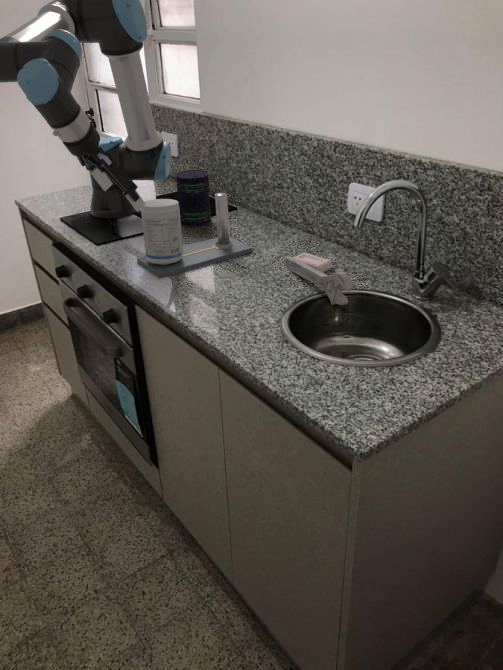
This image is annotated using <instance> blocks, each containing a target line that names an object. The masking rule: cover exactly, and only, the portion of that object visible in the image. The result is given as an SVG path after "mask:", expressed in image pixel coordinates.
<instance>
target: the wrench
mask: <svg viewBox="0 0 503 670" xmlns="http://www.w3.org/2000/svg"><path fill="white" fill-rule="evenodd" d="M294 257H295V256H286V257H285V258H284V260H283V261H284V262H283V263H284V266H285V268H286V269H287V270H288V271H290V272H292V273H294V274H296V275H297V276H300V277H301V278H303V279H305V280H307V281H309V282H311V283H313V284H314V285H317V286H318V287H320V288H322V290H324V292H325V294H326V295H327V297H328V300H329V301H330V304H331V306H334V305H336V304H337V305H338V306H343V305H345V306H346V305H348V303H349V299H348V297H346V296H345V294H344V293H343V290H342V289H344V291H345V292H347V291H351V290H353V286H354V285H353V281H352V280H351V278H350V275H348V273H346V272H344V271H340V272H339V271H338V272H334V273H333V274H326V273H324V272H321V271H319V270H317V269H315V268H313V267H311V266H309V265H307V264H305V263H303V262H301V261H299V260H297V259H296V258H294Z"/></svg>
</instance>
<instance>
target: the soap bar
mask: <svg viewBox="0 0 503 670" xmlns="http://www.w3.org/2000/svg"><path fill="white" fill-rule="evenodd" d="M293 257H294V258H296V259H297V260H299V261H301V262H303V263H305V264H307V265H309V266H311V267H313V268H315V269H317V270H319V271H321V272H322V273H324V272H326V271H328V270H330V269H332V260H331V259H328V258H324V257H320V256H318V255H314V254H310V253H307V252H302V253H300V254H298V255H295V256H293Z"/></svg>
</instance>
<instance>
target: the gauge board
mask: <svg viewBox="0 0 503 670" xmlns="http://www.w3.org/2000/svg"><path fill="white" fill-rule="evenodd" d="M229 239H230V241H231V242H232V246H230V247H227V248H220V247H217V246H216V244H215V243H216V242H218V236H217V237H214V238H210V239H207V240H202V241H198V242H195V243H190V244H186V245H182V248H183V257H182V259H181V260H179V261H178V262H175V263H170V264H154V263H151V262H149V261H148V260H147V259H146V255H144V256H141V257H137V258H136V260H137V261H136V262H137V264H139V265H140V266H142V267H143V268H145V269H146V270H147V271H149V272H150V273H152V274H153V275H154V276H156V277H157V278H159V279H163V278H165V277H169V276H174V275H177V274H179V273H180V274H181V273H184V272H187V271H191V270H193V269H197V268H200V267H204V266H208V265H211V264H214V263H218V262H222V261H225V260H226V261H227V260H229V259H232V258H237V257H240V256H242V255H246V254H249V253H253V247H252V246H250V245H248V244H245V243H243V242H242V241H239V240H238V239H236V238H234V237H231V236H230V235H229Z"/></svg>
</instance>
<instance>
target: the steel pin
mask: <svg viewBox="0 0 503 670" xmlns="http://www.w3.org/2000/svg"><path fill="white" fill-rule="evenodd" d="M214 200H215V201H214V202H215V203H214V204H215V217H216V233H217V234H216V235H217V237H218V242H216V243H215V244H216V246H217V247H220V248H227V247H230V246H232V242H231V241H230V239H229V236H230V223H229V207H228V206H229V202H228V201H229V200H228V194H227V193H226V192H218V193H215V194H214Z"/></svg>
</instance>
